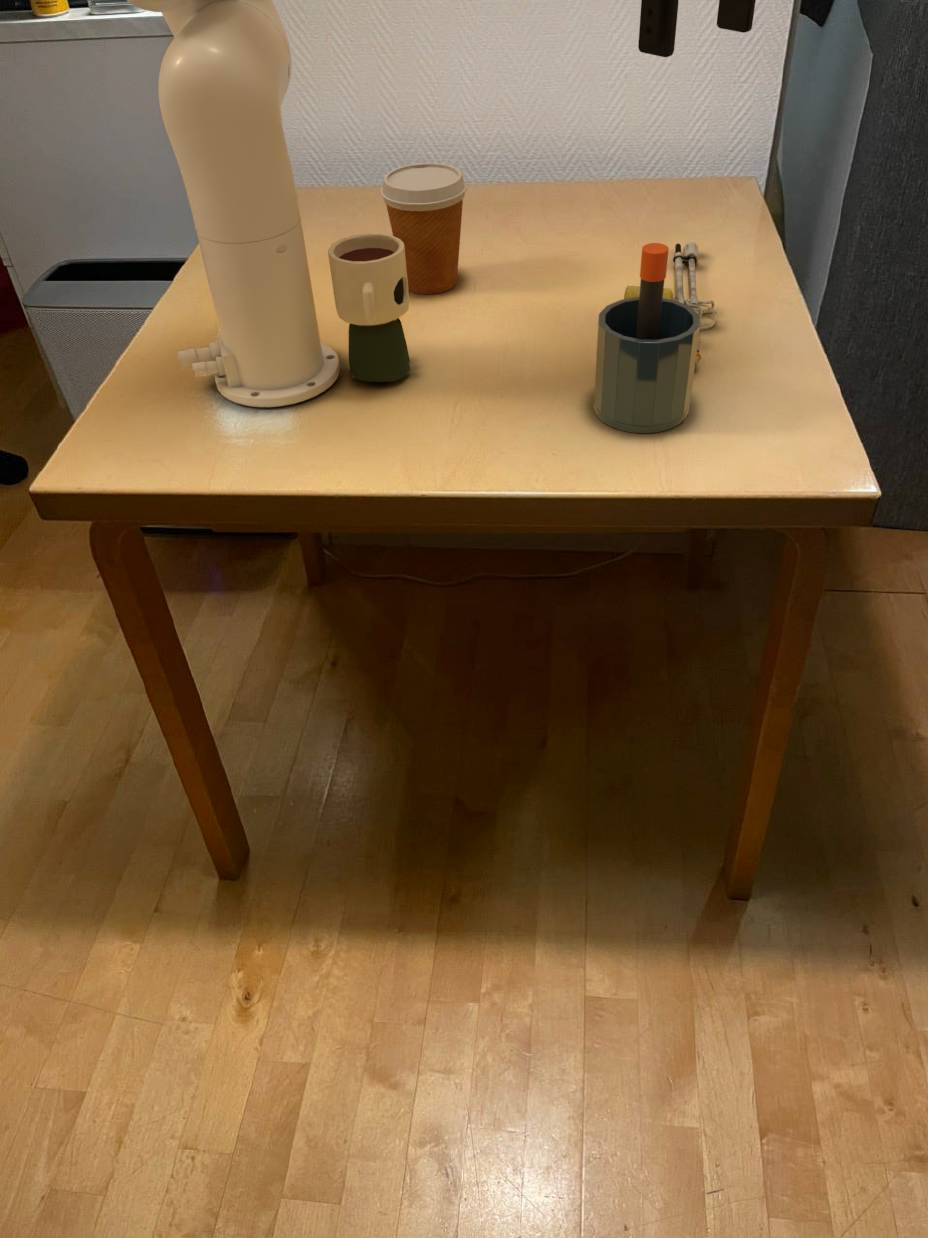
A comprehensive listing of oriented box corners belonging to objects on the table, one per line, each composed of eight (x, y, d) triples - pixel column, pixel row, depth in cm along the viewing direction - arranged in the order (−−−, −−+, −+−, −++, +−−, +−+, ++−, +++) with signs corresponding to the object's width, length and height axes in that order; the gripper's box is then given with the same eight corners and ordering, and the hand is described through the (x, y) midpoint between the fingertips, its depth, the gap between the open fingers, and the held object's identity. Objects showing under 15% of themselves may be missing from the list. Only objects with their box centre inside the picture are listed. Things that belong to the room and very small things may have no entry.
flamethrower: (618, 368, 96) (721, 377, 95) (621, 343, 94) (726, 351, 93) (626, 253, 117) (710, 259, 116) (629, 231, 116) (714, 237, 115)
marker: (635, 408, 90) (648, 254, 80) (626, 397, 92) (637, 244, 82) (657, 404, 91) (673, 250, 81) (647, 392, 92) (662, 240, 82)
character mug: (416, 398, 95) (405, 269, 86) (343, 404, 95) (325, 274, 86) (414, 345, 103) (403, 221, 94) (347, 350, 103) (330, 226, 94)
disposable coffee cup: (483, 271, 115) (480, 165, 107) (449, 305, 109) (443, 196, 101) (412, 261, 118) (404, 157, 110) (375, 293, 112) (363, 186, 104)
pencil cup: (614, 440, 88) (621, 349, 82) (580, 393, 94) (584, 305, 88) (704, 423, 89) (717, 332, 83) (664, 377, 96) (674, 290, 89)
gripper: (757, -248, 73) (725, 14, 85) (598, -230, 65) (587, 55, 77) (845, -249, 69) (798, 27, 81) (685, -231, 61) (660, 72, 73)
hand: (695, 41), depth 79 cm, fingers open, 9 cm apart
